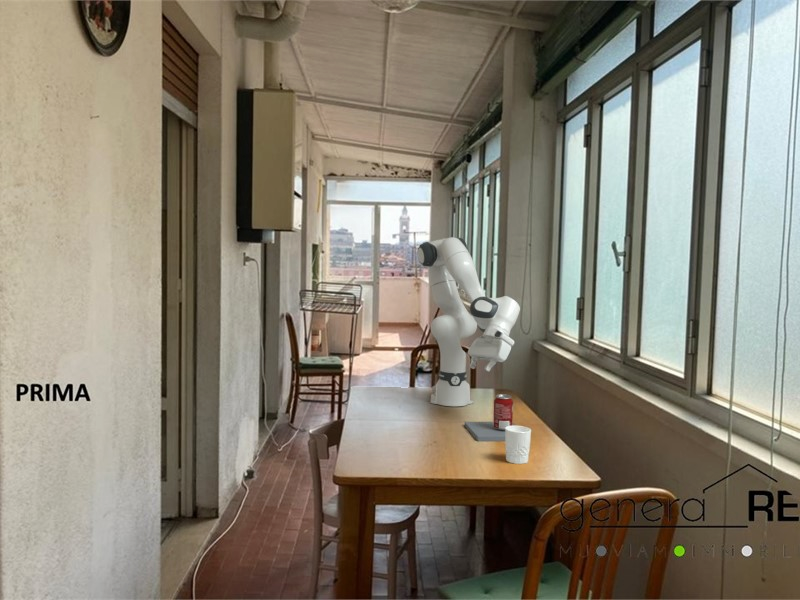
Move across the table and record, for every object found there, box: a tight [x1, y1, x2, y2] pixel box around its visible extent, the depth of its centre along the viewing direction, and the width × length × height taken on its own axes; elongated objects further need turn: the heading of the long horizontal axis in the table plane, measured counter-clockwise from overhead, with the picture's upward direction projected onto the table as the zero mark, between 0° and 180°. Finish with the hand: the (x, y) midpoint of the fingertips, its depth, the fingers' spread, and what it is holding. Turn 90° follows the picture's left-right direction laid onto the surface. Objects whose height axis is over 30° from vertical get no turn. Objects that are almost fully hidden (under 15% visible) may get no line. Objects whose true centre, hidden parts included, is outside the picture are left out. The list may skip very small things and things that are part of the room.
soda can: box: [492, 393, 514, 431], centre depth 218 cm, size 7×7×12 cm
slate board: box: [464, 421, 517, 442], centre depth 219 cm, size 20×18×2 cm
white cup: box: [504, 425, 532, 465], centre depth 188 cm, size 8×8×10 cm
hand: (479, 369), depth 224 cm, fingers open, 8 cm apart
